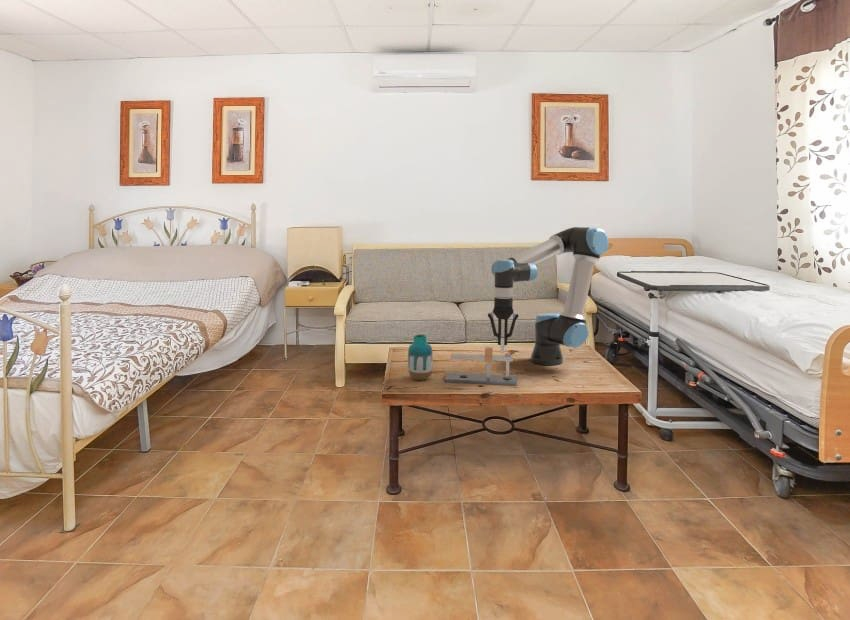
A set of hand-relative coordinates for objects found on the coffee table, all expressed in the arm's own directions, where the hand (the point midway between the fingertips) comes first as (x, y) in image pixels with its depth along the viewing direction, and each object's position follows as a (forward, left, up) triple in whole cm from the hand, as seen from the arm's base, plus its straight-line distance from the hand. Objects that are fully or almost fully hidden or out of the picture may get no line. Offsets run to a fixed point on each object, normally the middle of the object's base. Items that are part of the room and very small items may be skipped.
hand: (502, 352), depth 222 cm
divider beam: (+9, 0, -11) cm, 14 cm away
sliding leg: (+6, 0, -11) cm, 12 cm away
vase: (+35, +2, -13) cm, 37 cm away
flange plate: (+9, 0, -13) cm, 15 cm away
